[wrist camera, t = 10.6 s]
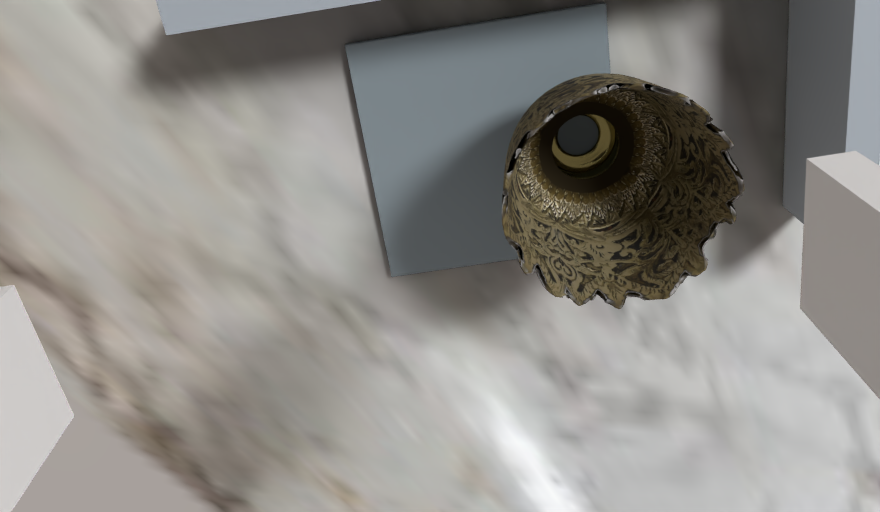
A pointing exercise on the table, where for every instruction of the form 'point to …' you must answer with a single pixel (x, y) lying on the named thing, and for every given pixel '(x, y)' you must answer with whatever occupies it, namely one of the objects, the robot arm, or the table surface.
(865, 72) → the fence
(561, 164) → the cup
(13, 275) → the table surface
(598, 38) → the mat
